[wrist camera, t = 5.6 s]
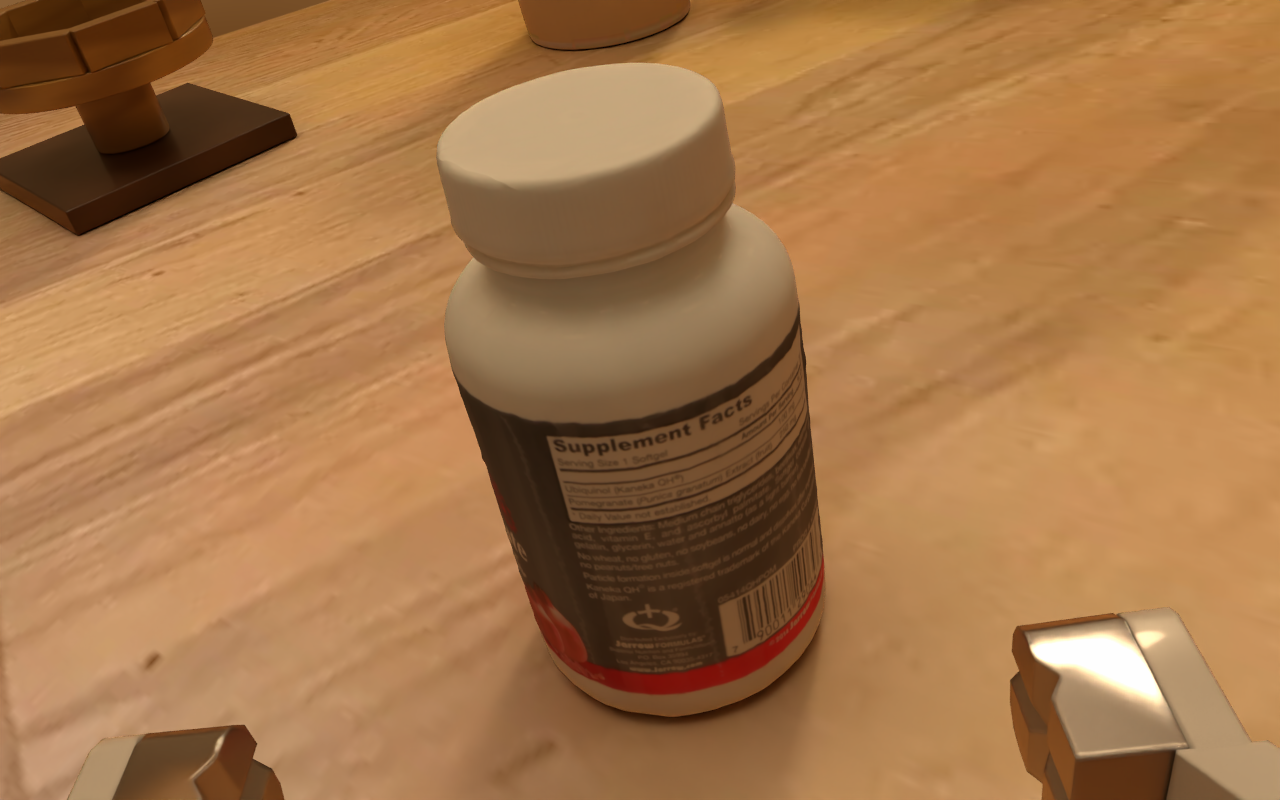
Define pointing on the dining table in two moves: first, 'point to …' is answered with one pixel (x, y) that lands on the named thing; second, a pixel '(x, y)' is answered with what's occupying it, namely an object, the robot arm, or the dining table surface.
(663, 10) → the coffee cup
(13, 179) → the cup holder
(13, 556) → the dining table surface
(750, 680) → the pill bottle
